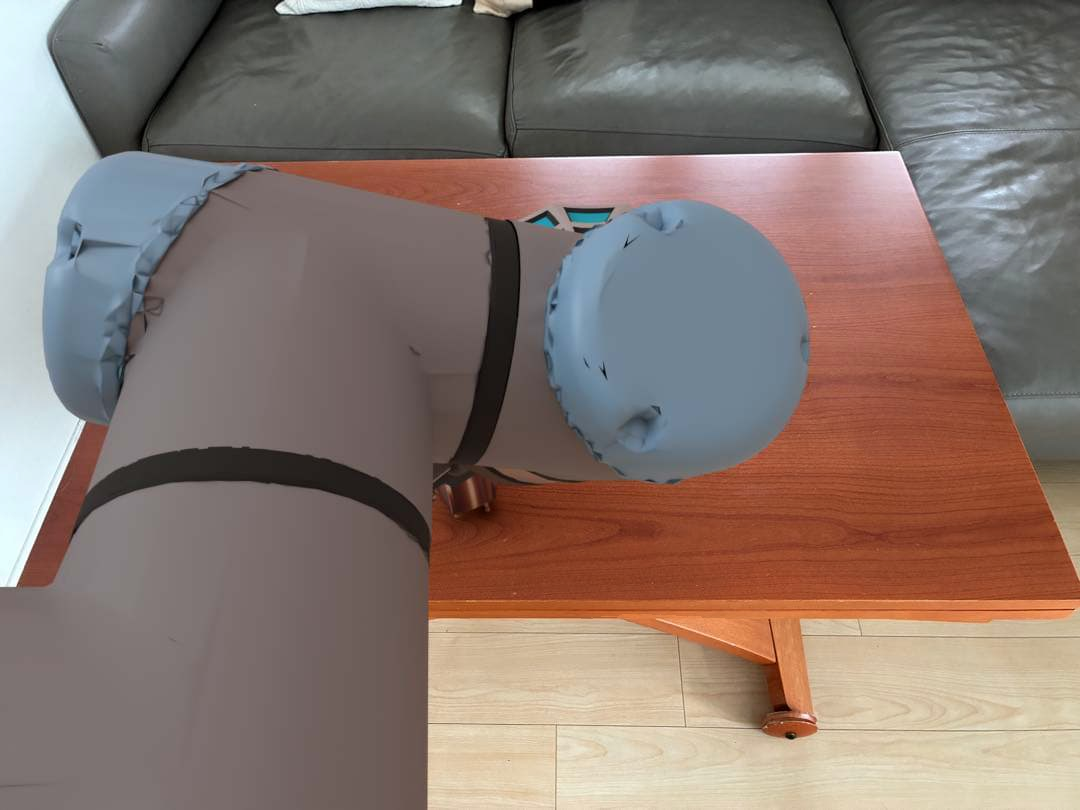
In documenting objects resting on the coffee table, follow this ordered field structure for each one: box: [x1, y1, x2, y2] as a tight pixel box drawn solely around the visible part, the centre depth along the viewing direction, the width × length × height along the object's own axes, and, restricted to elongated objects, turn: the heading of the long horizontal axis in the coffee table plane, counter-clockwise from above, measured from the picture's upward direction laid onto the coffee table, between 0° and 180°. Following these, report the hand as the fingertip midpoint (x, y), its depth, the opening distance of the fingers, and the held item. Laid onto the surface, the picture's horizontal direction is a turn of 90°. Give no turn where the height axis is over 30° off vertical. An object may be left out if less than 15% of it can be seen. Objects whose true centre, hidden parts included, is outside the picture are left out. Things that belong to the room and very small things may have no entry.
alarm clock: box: [436, 474, 498, 519], centre depth 68 cm, size 11×5×15 cm, turn 22°
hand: (451, 435), depth 54 cm, fingers open, 13 cm apart
